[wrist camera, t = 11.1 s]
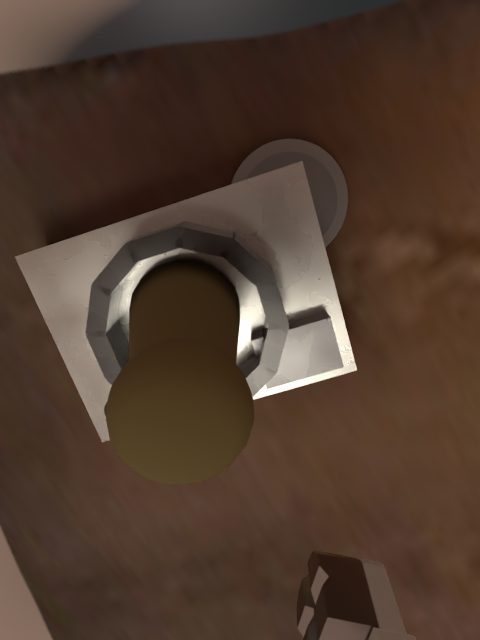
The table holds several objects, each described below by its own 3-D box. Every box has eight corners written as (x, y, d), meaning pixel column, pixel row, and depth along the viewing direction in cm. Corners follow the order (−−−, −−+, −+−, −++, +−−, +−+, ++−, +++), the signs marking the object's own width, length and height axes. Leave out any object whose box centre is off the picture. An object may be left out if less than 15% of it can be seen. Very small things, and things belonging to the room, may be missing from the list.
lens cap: (329, 122, 26) (333, 120, 24) (356, 240, 28) (361, 242, 26) (213, 162, 26) (211, 161, 25) (248, 274, 28) (248, 278, 27)
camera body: (293, 163, 26) (309, 158, 20) (342, 345, 30) (368, 389, 24) (46, 246, 28) (-11, 265, 22) (119, 410, 31) (88, 467, 25)
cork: (204, 238, 23) (212, 325, 13) (259, 329, 25) (303, 462, 15) (106, 295, 24) (41, 421, 14) (169, 378, 26) (154, 538, 16)
